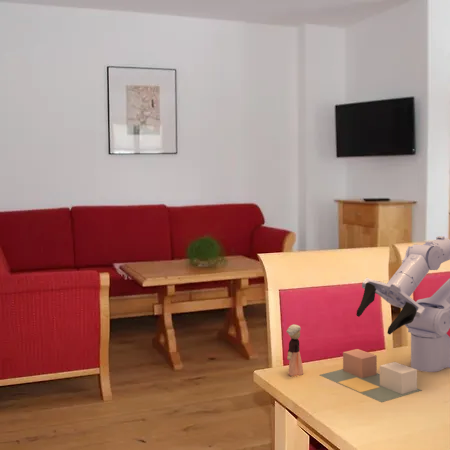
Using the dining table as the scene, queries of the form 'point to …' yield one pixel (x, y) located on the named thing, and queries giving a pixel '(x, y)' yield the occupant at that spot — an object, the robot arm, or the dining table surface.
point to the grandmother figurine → (294, 351)
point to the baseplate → (365, 385)
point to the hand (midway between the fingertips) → (373, 322)
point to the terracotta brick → (360, 363)
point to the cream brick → (398, 377)
